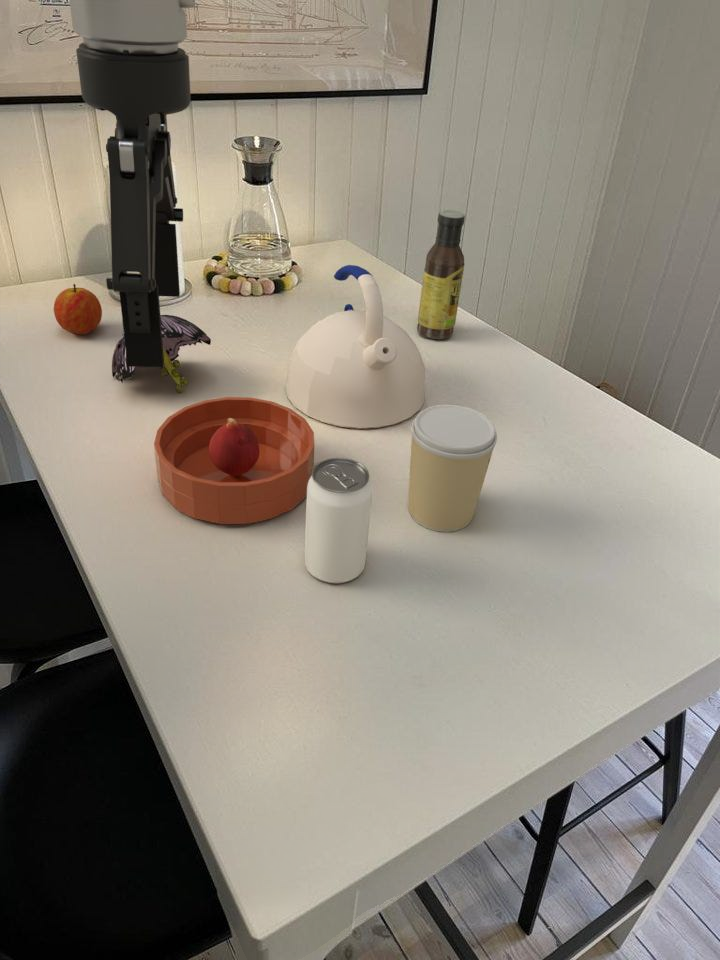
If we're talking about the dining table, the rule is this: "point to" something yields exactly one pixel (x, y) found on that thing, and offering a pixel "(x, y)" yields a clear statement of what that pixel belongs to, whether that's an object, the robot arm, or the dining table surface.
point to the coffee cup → (448, 465)
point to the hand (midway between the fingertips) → (156, 327)
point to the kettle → (357, 365)
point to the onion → (234, 448)
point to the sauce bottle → (442, 279)
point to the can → (337, 520)
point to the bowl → (245, 496)
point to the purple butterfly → (173, 337)
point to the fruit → (77, 310)
